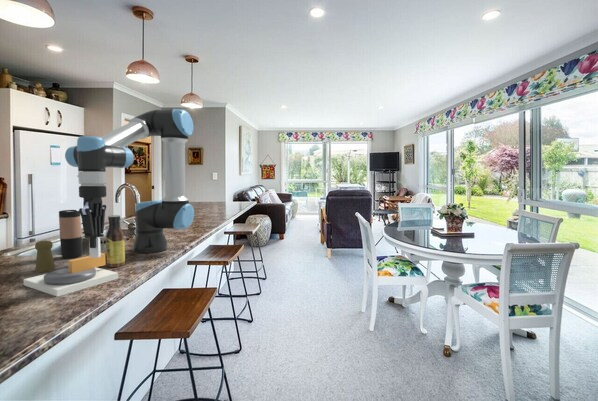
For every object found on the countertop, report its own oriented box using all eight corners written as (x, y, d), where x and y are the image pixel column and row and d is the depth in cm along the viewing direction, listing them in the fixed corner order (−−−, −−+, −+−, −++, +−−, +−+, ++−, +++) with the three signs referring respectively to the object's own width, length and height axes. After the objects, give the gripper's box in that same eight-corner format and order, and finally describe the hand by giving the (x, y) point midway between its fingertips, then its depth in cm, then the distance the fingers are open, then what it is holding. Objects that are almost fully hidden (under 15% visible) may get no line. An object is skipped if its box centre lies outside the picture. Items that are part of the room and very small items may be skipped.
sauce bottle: (108, 264, 130) (106, 214, 128) (126, 262, 132) (124, 214, 131) (105, 268, 124) (103, 217, 122) (124, 267, 126) (122, 216, 125)
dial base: (85, 269, 123) (84, 264, 122) (118, 278, 113) (118, 272, 113) (23, 285, 106) (23, 278, 106) (57, 296, 97) (56, 289, 96)
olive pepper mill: (44, 272, 119) (42, 243, 118) (30, 271, 120) (28, 242, 119) (59, 267, 125) (57, 239, 124) (46, 266, 126) (44, 238, 125)
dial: (58, 287, 98) (57, 269, 97) (34, 279, 104) (33, 263, 104) (116, 271, 114) (115, 255, 113) (92, 265, 120) (91, 251, 120)
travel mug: (59, 259, 136) (56, 212, 134) (63, 255, 143) (61, 210, 141) (80, 258, 139) (78, 211, 137) (84, 253, 146) (82, 209, 144)
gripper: (90, 184, 111) (93, 252, 113) (68, 185, 98) (71, 262, 100) (113, 184, 112) (115, 252, 114) (95, 185, 99) (97, 262, 101)
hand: (95, 256), depth 107 cm, fingers closed
